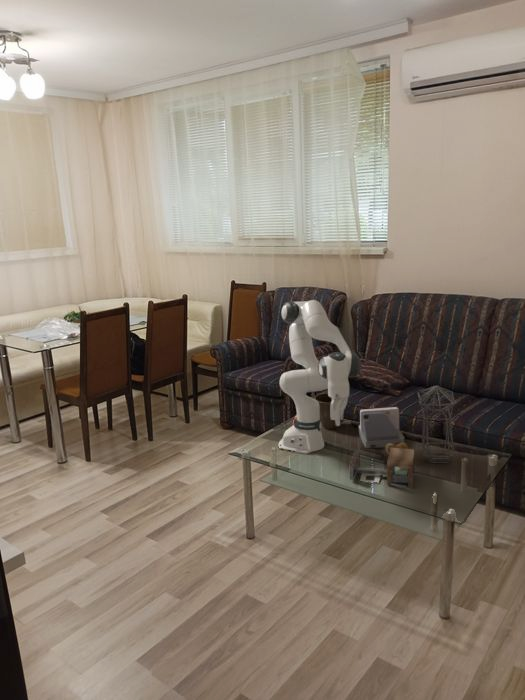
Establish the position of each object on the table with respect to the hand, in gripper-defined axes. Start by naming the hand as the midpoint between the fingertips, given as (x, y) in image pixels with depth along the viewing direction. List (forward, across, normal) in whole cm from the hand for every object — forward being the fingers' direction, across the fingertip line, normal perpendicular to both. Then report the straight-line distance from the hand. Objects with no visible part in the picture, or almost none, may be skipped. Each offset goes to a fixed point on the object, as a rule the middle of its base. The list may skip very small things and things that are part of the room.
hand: (339, 421), depth 240 cm
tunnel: (+24, 0, -25) cm, 35 cm away
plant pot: (+24, +50, +15) cm, 58 cm away
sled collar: (+24, 0, -17) cm, 29 cm away
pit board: (+24, 0, -13) cm, 27 cm away
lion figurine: (+24, +18, -22) cm, 38 cm away
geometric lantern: (+24, +21, -39) cm, 50 cm away
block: (+24, 0, -25) cm, 35 cm away
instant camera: (+25, +38, -13) cm, 47 cm away
